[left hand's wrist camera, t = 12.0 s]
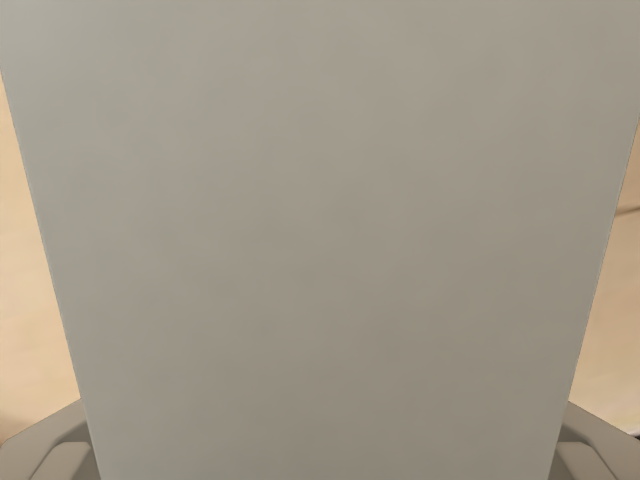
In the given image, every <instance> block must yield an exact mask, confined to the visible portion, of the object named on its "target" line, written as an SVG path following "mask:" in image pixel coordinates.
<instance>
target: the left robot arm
mask: <svg viewBox="0 0 640 480" xmlns="http://www.w3.org/2000/svg"><path fill="white" fill-rule="evenodd" d="M0 480H101V478H100V474H99V469H98V465H97V461H96V457H95V453H94V449H93V445H92V441H91V437H90V433H89V429H88V425H87V421H86V417H85V413H84V409H83V404H82V400H81V399H79V400H77V401H75V402H73V403H72V404H70V405H68V406H66V407H65V408H63V409H61V410H59V411H57V412H56V413H54V414H52V415H50V416H48V417H47V418H45V419H43V420H41V421H40V422H38V423H36V424H34V425H32V426H31V427H29V428H27V429H25V430H24V431H22V432H20V433H18V434H16V435H15V436H13V437H11V438H9V439H8V440H6V441H5V442H4V444H3V445H2V446H1V447H0ZM548 480H640V441H639V440H638V439H636V438H634V437H632V436H630V435H629V434H627V433H625V432H623V431H622V430H620V429H618V428H616V427H614V426H613V425H611V424H609V423H607V422H605V421H604V420H602V419H600V418H598V417H596V416H595V415H593V414H591V413H589V412H587V411H586V410H584V409H582V408H580V407H578V406H577V405H575V404H573V403H571V402H570V401H567V405H566V409H565V413H564V417H563V421H562V425H561V429H560V432H559V436H558V440H557V444H556V448H555V452H554V456H553V460H552V464H551V468H550V472H549V476H548Z"/></svg>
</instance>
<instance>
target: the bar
mask: <svg viewBox="0 0 640 480" xmlns="http://www.w3.org/2000/svg"><path fill="white" fill-rule="evenodd" d="M0 71H1V75H2V79H3V83H4V87H5V92H6V96H7V100H8V104H9V108H10V112H11V116H12V120H13V124H14V128H15V132H16V136H17V140H18V144H19V148H20V152H21V157H22V161H23V165H24V169H25V173H26V177H27V181H28V185H29V189H30V193H31V197H32V201H33V205H34V209H35V213H36V217H37V222H38V226H39V230H40V234H41V238H42V242H43V246H44V250H45V254H46V258H47V262H48V266H49V270H50V274H51V278H52V283H53V287H54V291H55V295H56V299H57V303H58V307H59V311H60V315H61V319H62V323H63V327H64V331H65V335H66V339H67V343H68V348H69V352H70V356H71V360H72V364H73V368H74V372H75V376H76V380H77V384H78V388H79V392H80V396H81V400H82V404H83V409H84V413H85V417H86V421H87V425H88V429H89V433H90V437H91V441H92V445H93V449H94V453H95V457H96V461H97V465H98V469H99V474H100V478H101V480H548V476H549V472H550V468H551V464H552V460H553V456H554V452H555V448H556V444H557V440H558V436H559V432H560V429H561V425H562V421H563V417H564V413H565V409H566V405H567V401H568V397H569V393H570V389H571V385H572V381H573V377H574V373H575V369H576V366H577V362H578V358H579V354H580V350H581V346H582V342H583V338H584V334H585V330H586V326H587V322H588V318H589V314H590V310H591V306H592V303H593V299H594V295H595V291H596V287H597V283H598V279H599V275H600V271H601V267H602V263H603V259H604V255H605V251H606V247H607V243H608V239H609V236H610V232H611V228H612V224H613V220H614V216H615V212H616V208H617V204H618V200H619V196H620V192H621V188H622V184H623V180H624V176H625V173H626V169H627V165H628V161H629V157H630V153H631V149H632V145H633V141H634V137H635V133H636V129H637V125H638V121H639V117H640V0H0Z"/></svg>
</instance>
